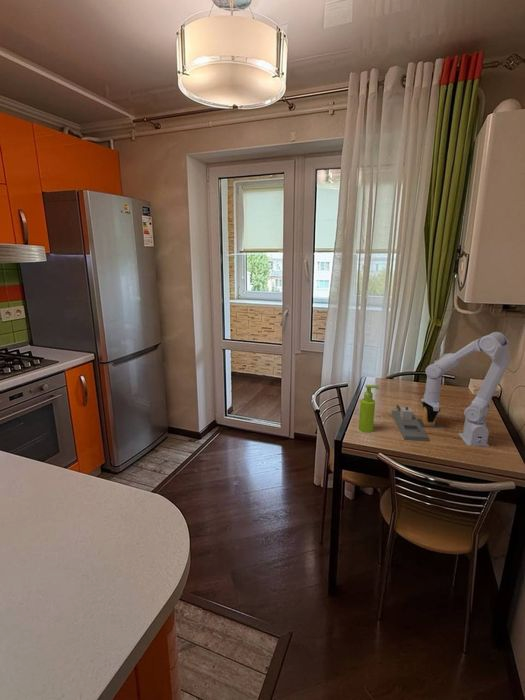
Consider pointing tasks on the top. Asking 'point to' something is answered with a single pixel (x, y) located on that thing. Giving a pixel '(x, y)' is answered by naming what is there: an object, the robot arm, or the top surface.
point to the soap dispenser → (367, 410)
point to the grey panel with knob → (409, 425)
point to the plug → (427, 419)
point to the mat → (428, 425)
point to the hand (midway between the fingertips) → (428, 419)
